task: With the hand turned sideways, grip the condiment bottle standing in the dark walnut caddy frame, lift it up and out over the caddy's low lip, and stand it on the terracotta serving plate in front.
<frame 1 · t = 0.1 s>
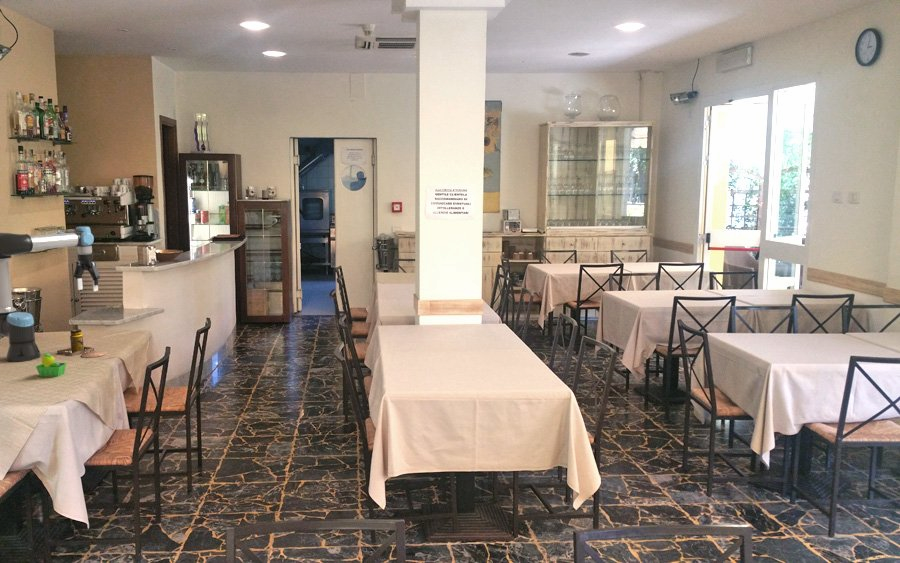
hand: (87, 290, 432), 28 cm above the table, tool pointing down, fingers open, 13 cm apart
condiment: (75, 352, 399), resting in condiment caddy
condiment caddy: (75, 352, 399), on the table
serving plate: (94, 355, 392), on the table
fruit basket: (51, 376, 352), on the table
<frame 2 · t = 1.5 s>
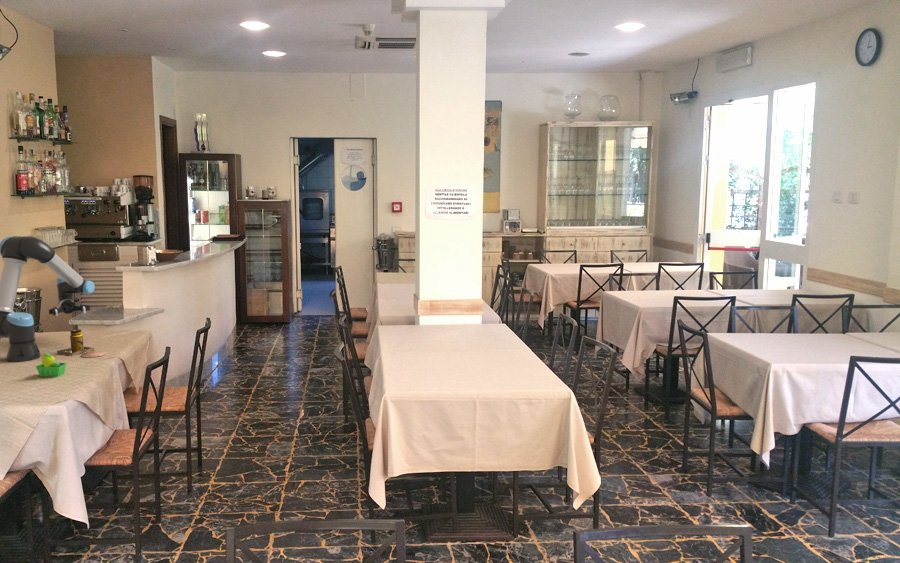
hand: (71, 312, 405), 20 cm above the table, tool horizontal, fingers open, 13 cm apart
nothing on the table moved.
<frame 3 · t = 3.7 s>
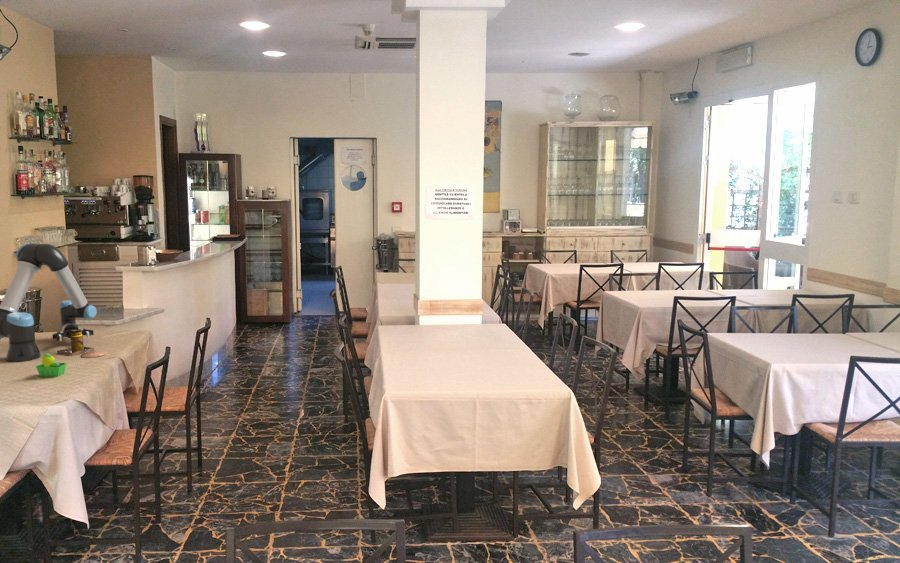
hand: (74, 337, 404), 7 cm above the table, tool horizontal, fingers open, 13 cm apart
nothing on the table moved.
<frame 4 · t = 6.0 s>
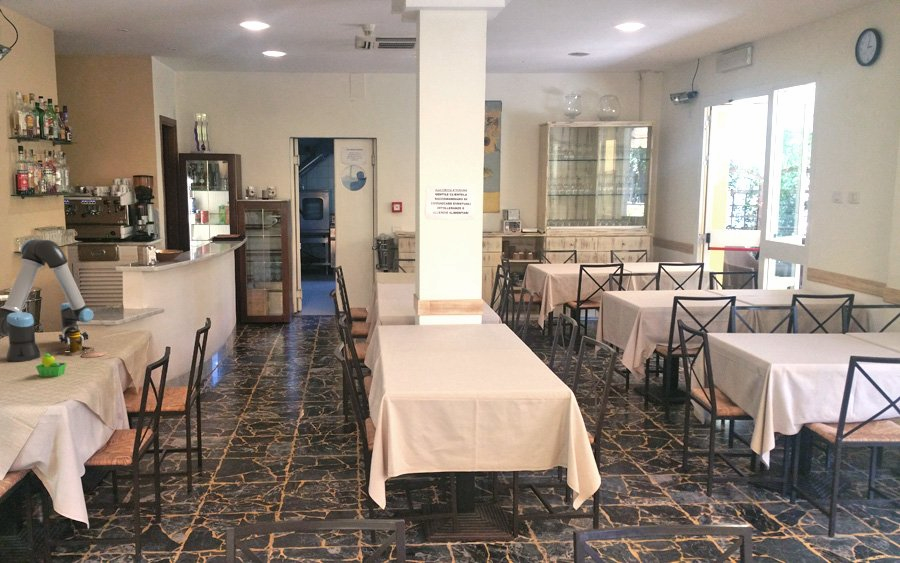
hand: (76, 341, 394), 7 cm above the table, tool horizontal, fingers closed on condiment, 6 cm apart
condiment: (74, 352, 399), resting in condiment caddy, touching gripper
everything else where it was.
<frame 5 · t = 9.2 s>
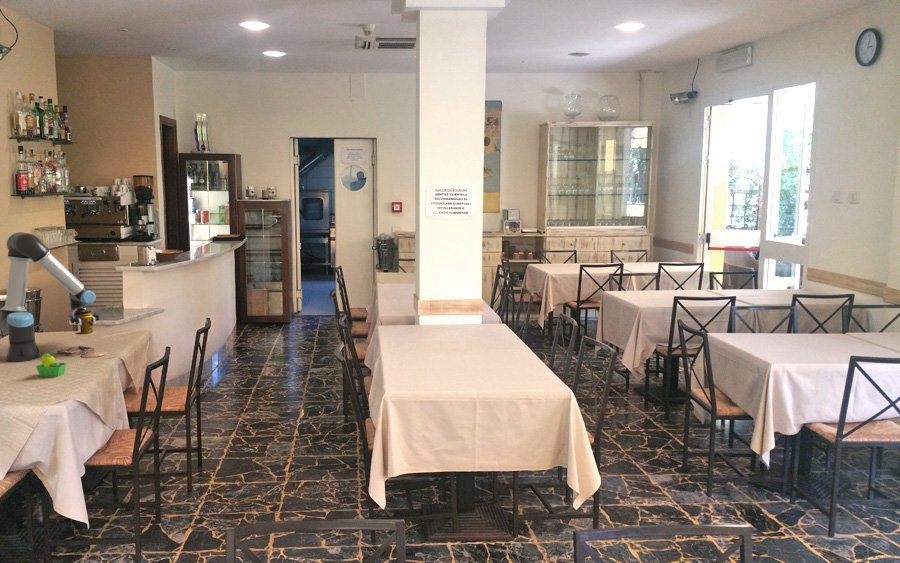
hand: (87, 321, 390), 18 cm above the table, tool horizontal, fingers closed on condiment, 6 cm apart
condiment: (85, 333, 395), point 11 cm above the table, touching gripper
everything else where it was.
when the fingers open (9 cm above the table, at t = 12.1 s): condiment drops 1 cm, resting on serving plate.
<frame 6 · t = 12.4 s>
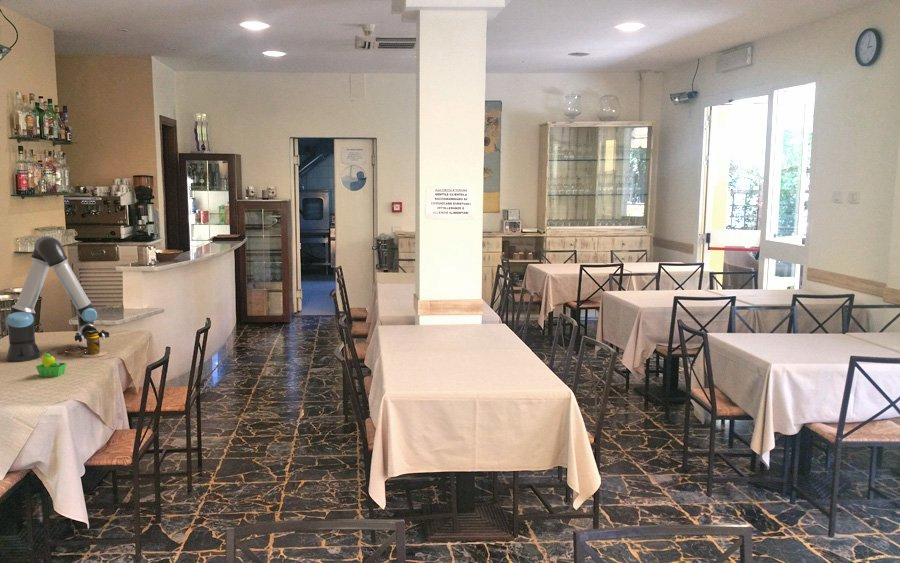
hand: (93, 339, 387), 9 cm above the table, tool horizontal, fingers open, 9 cm apart
condiment: (92, 354, 392), point 1 cm above the table, touching serving plate
everything else where it was.
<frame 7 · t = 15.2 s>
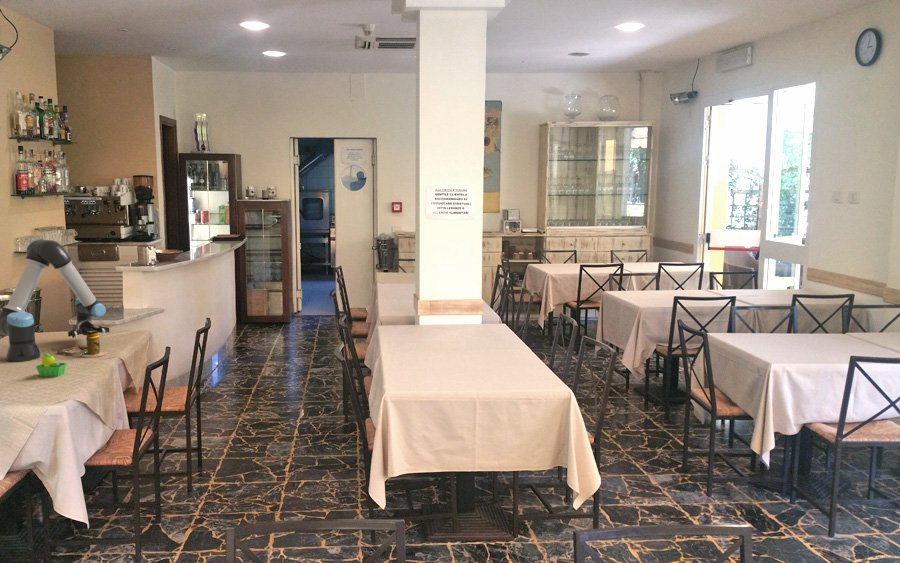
hand: (90, 334, 399), 9 cm above the table, tool horizontal, fingers open, 13 cm apart
nothing on the table moved.
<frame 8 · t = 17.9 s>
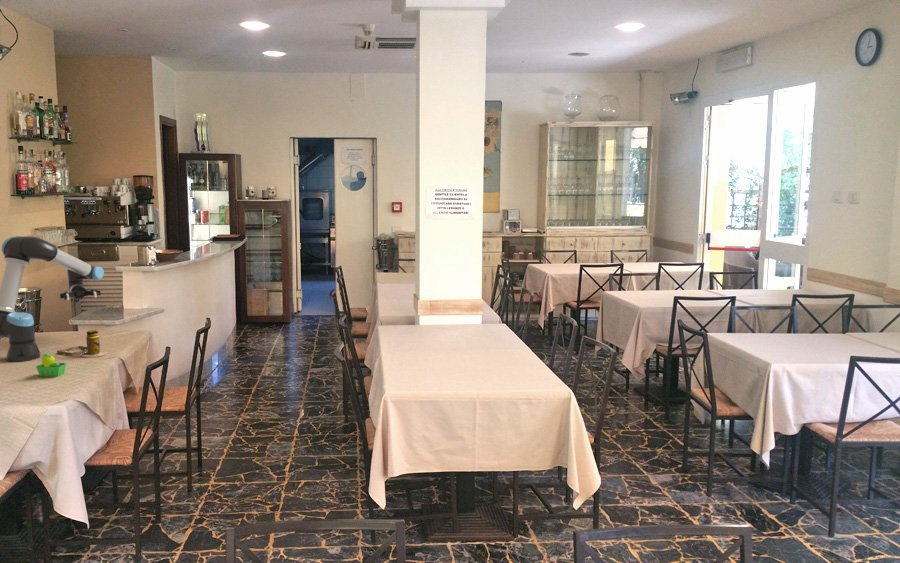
hand: (82, 296, 409), 28 cm above the table, tool horizontal, fingers open, 13 cm apart
nothing on the table moved.
at the end: condiment inside the target area on the serving plate (1.0 cm from its centre), point 0.6 cm above the serving plate's base; condiment tilted 0°; the gripper is holding nothing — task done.
